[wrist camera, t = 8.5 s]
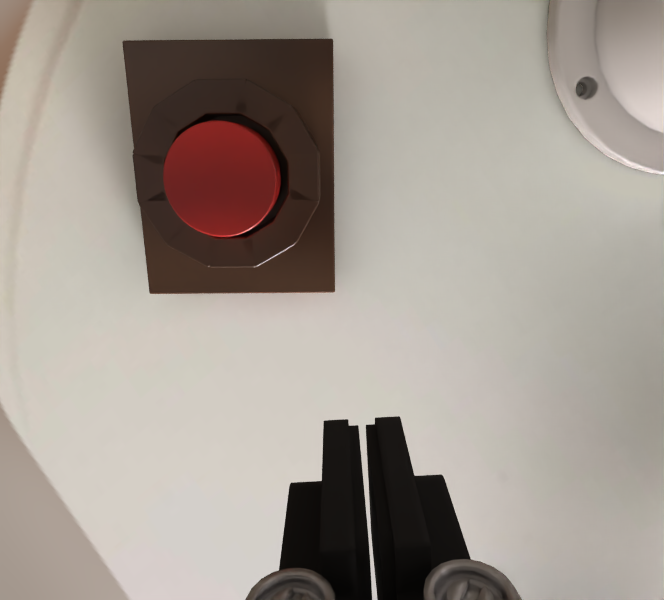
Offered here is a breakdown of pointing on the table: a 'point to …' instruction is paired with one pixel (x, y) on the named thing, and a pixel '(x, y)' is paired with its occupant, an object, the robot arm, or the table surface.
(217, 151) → the button
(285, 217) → the button block
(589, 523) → the table surface
